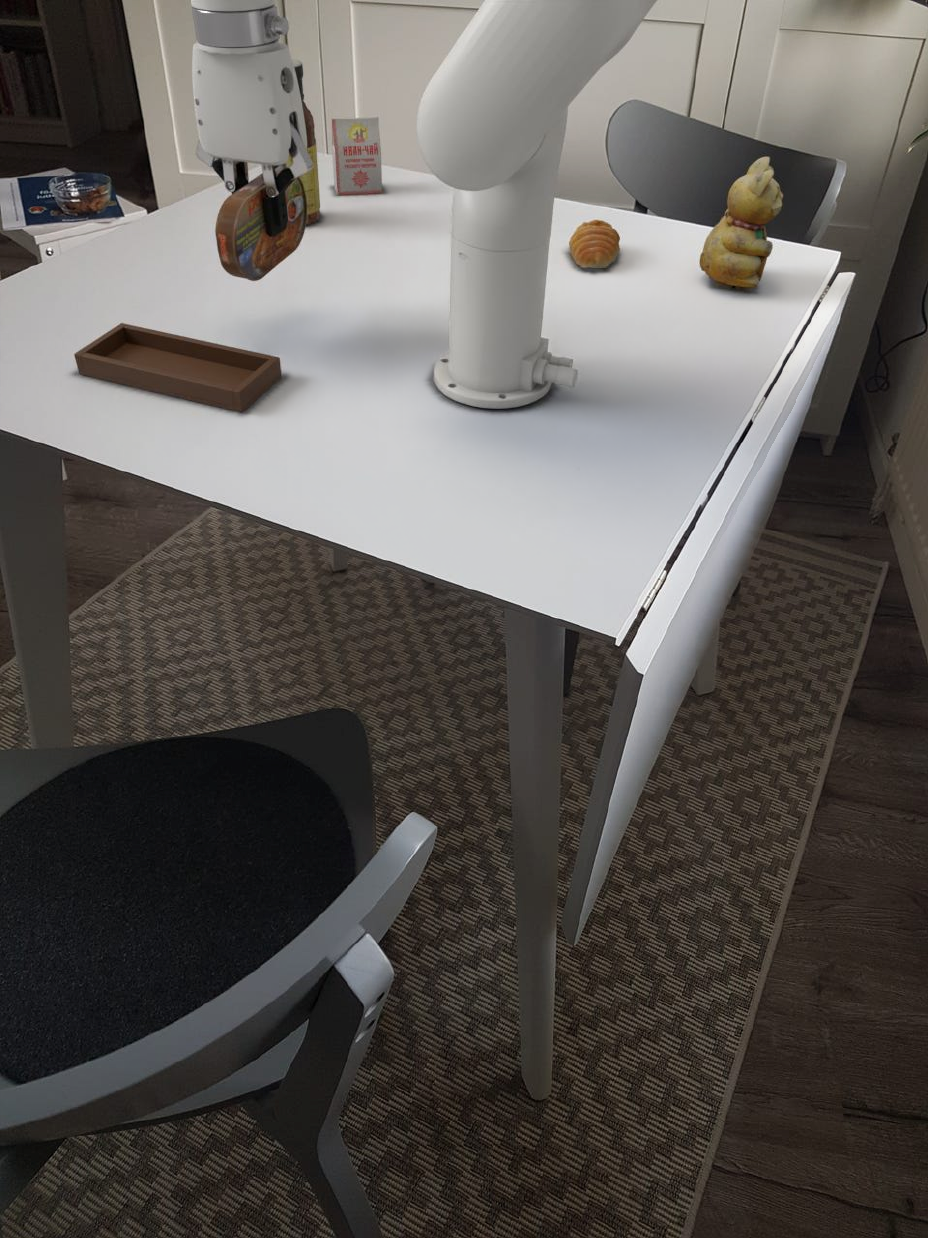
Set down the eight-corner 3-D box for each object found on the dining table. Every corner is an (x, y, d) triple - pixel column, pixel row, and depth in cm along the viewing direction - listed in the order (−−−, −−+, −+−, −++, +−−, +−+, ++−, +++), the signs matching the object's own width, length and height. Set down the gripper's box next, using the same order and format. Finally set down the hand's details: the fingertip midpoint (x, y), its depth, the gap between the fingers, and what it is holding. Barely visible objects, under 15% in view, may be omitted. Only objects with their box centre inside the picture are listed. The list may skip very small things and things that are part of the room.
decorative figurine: (766, 300, 119) (798, 174, 109) (700, 296, 120) (725, 170, 110) (753, 270, 127) (782, 148, 117) (691, 266, 127) (714, 145, 117)
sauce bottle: (277, 211, 137) (262, 54, 124) (321, 211, 138) (310, 54, 125) (275, 228, 132) (259, 66, 119) (321, 228, 133) (310, 67, 120)
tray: (282, 377, 101) (279, 357, 100) (242, 412, 95) (239, 392, 94) (125, 342, 106) (121, 322, 104) (79, 374, 100) (73, 353, 99)
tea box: (334, 186, 146) (330, 115, 139) (378, 184, 147) (376, 113, 140) (337, 194, 143) (333, 122, 137) (382, 192, 144) (380, 120, 138)
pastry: (619, 274, 124) (623, 245, 122) (567, 271, 125) (570, 242, 122) (617, 247, 131) (621, 218, 129) (568, 244, 131) (571, 216, 129)
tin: (242, 294, 98) (234, 211, 92) (215, 287, 98) (205, 204, 93) (311, 238, 108) (307, 161, 102) (286, 232, 109) (281, 155, 103)
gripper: (333, 27, 89) (348, 228, 101) (184, 14, 93) (215, 209, 105) (294, 43, 84) (315, 253, 96) (138, 28, 88) (177, 231, 100)
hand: (263, 228), depth 101 cm, fingers closed on tin, 2 cm apart
